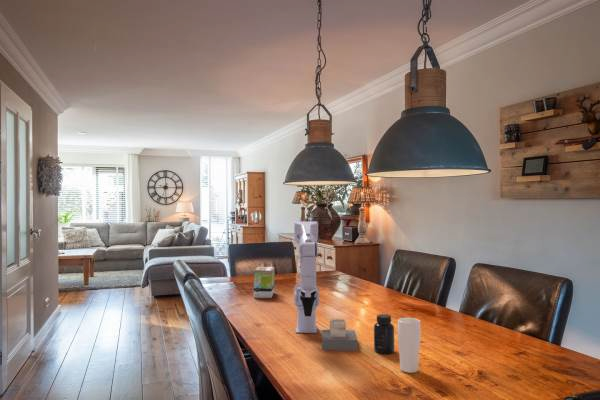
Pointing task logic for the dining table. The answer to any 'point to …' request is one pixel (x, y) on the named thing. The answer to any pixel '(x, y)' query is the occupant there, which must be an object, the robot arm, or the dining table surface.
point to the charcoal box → (339, 341)
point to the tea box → (264, 282)
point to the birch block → (337, 328)
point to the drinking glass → (409, 343)
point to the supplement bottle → (384, 335)
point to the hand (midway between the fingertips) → (308, 313)
